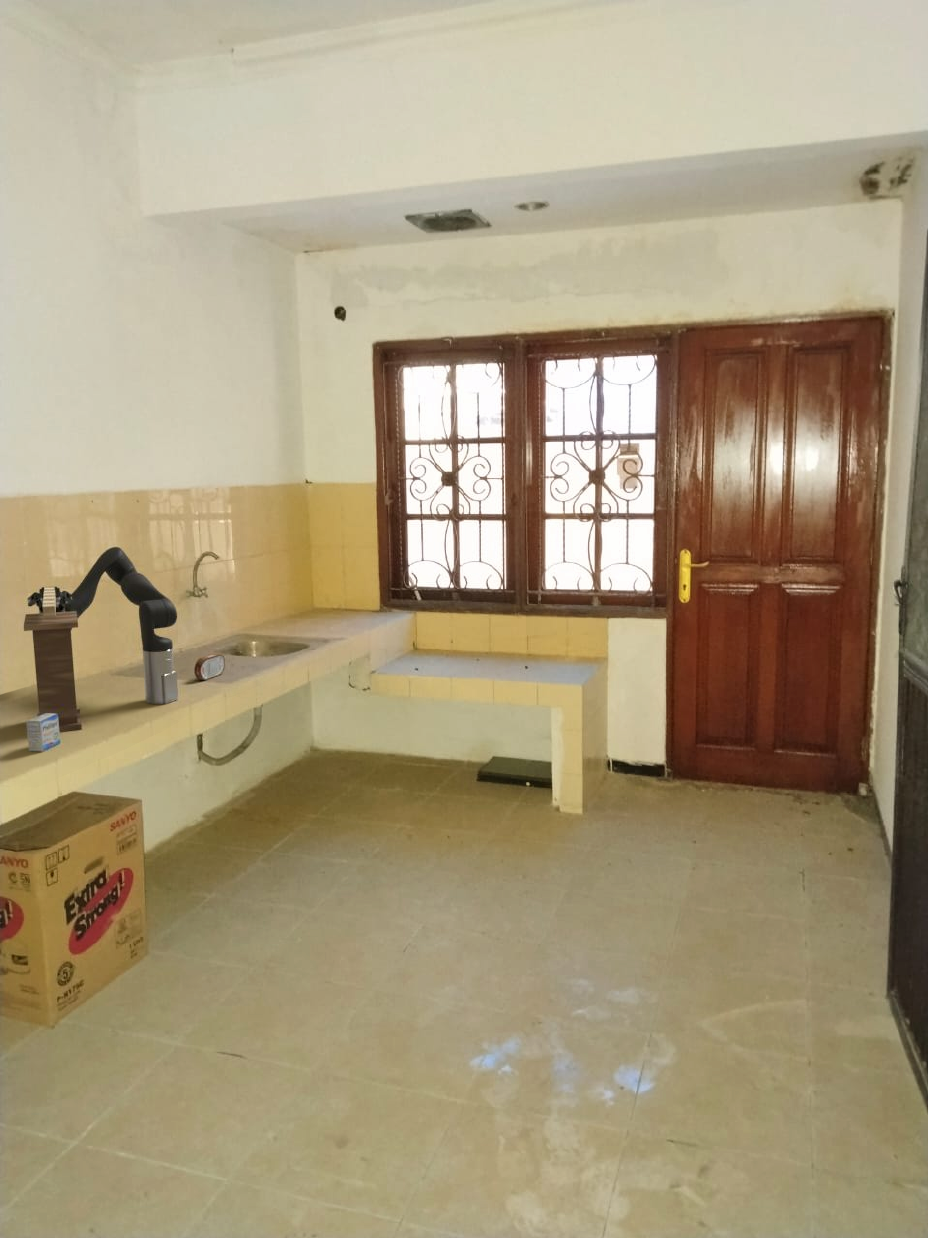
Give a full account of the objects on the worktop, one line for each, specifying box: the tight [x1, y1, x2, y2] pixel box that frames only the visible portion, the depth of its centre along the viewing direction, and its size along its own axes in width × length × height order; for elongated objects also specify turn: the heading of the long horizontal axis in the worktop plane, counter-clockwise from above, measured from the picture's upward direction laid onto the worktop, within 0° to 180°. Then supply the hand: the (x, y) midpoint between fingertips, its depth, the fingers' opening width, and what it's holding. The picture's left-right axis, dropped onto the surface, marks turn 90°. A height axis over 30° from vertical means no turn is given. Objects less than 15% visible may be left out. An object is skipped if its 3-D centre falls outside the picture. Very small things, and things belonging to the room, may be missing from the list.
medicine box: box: [25, 713, 61, 753], centre depth 248 cm, size 8×4×9 cm, turn 170°
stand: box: [23, 611, 83, 733], centre depth 268 cm, size 20×14×32 cm
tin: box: [194, 652, 226, 681], centre depth 327 cm, size 15×3×8 cm, turn 159°
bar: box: [43, 586, 56, 618], centre depth 263 cm, size 40×3×3 cm, turn 24°
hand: (49, 589), depth 275 cm, fingers closed on bar, 3 cm apart
